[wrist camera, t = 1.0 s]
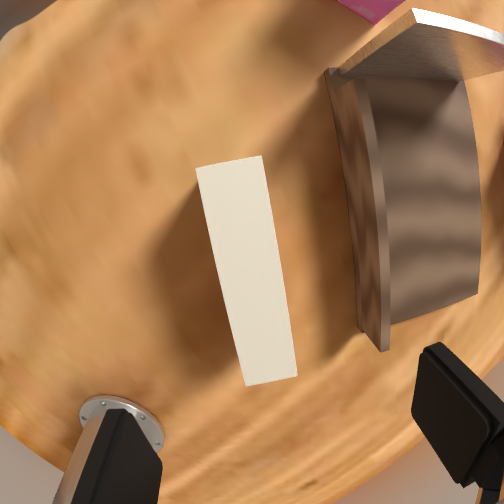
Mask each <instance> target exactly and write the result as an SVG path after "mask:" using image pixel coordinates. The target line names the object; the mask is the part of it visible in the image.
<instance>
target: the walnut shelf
mask: <svg viewBox="0 0 504 504" xmlns="http://www.w3.org/2000/svg"><path fill="white" fill-rule="evenodd" d="M324 74H325V78H326V83H327V87H328V92H329V96H330V101H331V106H332V111H333V116H334V121H335V126H336V131H337V137H338V142H339V148H340V154H341V160H342V166H343V173H344V180H345V187H346V194H347V201H348V209H349V218H350V227H351V236H352V246H353V257H354V270H355V284H356V300H357V322H358V328H359V329H360V331H361V332H362V333H364V332H365V333H366V335H367V336H368V337H369V338H370V340H371V341H372V342H373V344H374V345H375V346H376V347H377V349H378V350H379V351H380V352H384V351H387V350H389V346H390V325H391V324H394V323H398V322H401V321H404V320H407V319H410V318H413V317H416V316H419V315H422V314H425V313H428V312H431V311H433V310H436V309H439V308H442V307H445V306H447V305H450V304H453V303H455V302H458V301H461V300H463V299H466V298H468V297H471V296H473V295H476V294H478V284H479V272H480V255H481V195H480V179H479V167H478V157H477V149H476V141H475V134H474V128H473V122H472V116H471V110H470V105H469V100H468V96H467V91H466V87H465V83H464V81H460V82H456V81H447V80H438V79H426V78H411V77H386V76H352V77H340V74H339V70H338V68H328V69H327V70H326V71H325V72H324Z"/></svg>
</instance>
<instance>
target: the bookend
mask: <svg viewBox="0 0 504 504" xmlns="http://www.w3.org/2000/svg"><path fill="white" fill-rule="evenodd" d="M338 70H339V74H340V77H352V76H386V77H411V78H426V79H438V80H447V81H456V82H460V81H464V80H468V79H471V78H475V77H479V76H483V75H487V74H491V73H495V72H500V71H504V34H502V33H499V32H497V31H494V30H491V29H488V28H485V27H482V26H479V25H476V24H473V23H470V22H467V21H463V20H460V19H456V18H453V17H449V16H445V15H441V14H437V13H433V12H428V11H423V10H419V9H413V8H412V9H411V10H409V11H408V12H407V13H405V14H404V15H403V16H401V17H400V18H399V19H397V20H396V21H395V22H393V23H392V24H391V25H389V26H388V27H387V28H386V29H384V30H383V31H382V32H381V33H379V34H378V35H377V36H376V37H374V38H373V39H372V40H371V41H369V42H368V43H367V44H366V45H364V46H363V47H362V48H361V49H360V50H358V51H357V52H356V53H355V54H354V55H352V56H351V57H350V58H349V59H348V60H346V61H345V62H344V63H343V64H342V65H341V66H339V67H338Z"/></svg>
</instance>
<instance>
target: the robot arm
mask: <svg viewBox="0 0 504 504" xmlns="http://www.w3.org/2000/svg"><path fill="white" fill-rule="evenodd" d="M411 413H412V417H413V419H414V420H415V422H416V423H417V425H418V426H419V428H420V429H421V431H422V432H423V434H424V435H425V437H426V438H427V440H428V441H429V443H430V444H431V446H432V447H433V449H434V450H435V452H436V454H437V455H438V457H439V458H440V460H441V461H442V463H443V464H444V466H445V468H446V469H447V471H448V472H449V474H450V476H451V477H452V479H453V480H454V482H455V483H457V484H459V483H460V484H461V485H462V487H463V488H465V487H466V486H468V485H470V484H471V483H473V482H476V483H477V485H478V486H479V490H478V495H477V499H476V503H475V504H504V402H503V401H501V399H500V398H499V397H498V396H497V395H496V394H495V393H494V392H493V391H492V390H491V389H490V388H489V387H488V386H487V385H486V384H485V383H484V382H483V381H482V380H481V379H480V378H479V377H478V376H477V375H476V374H475V373H474V372H472V371H471V370H470V369H469V368H468V367H467V366H466V365H465V364H464V363H463V362H462V361H461V360H460V359H459V358H458V357H457V356H456V355H455V354H454V353H453V352H452V351H450V350H449V349H448V348H447V347H446V346H445V345H444V344H443V343H441V342H437V343H435V344H432V345H430V346H427V347H425V348H424V349H423V353H421V354H420V356H419V363H418V371H417V378H416V384H415V390H414V396H413V402H412V407H411ZM79 418H80V422H81V425H82V427H83V432H82V434H81V436H80V438H79V440H78V443H77V445H76V447H75V449H74V452H73V454H72V456H71V459H70V461H69V463H68V466H67V468H66V470H65V473H64V476H63V478H62V480H61V483H60V486H59V488H58V490H57V493H56V495H55V497H54V500H53V503H52V504H157V502H158V495H159V488H160V482H161V476H162V469H163V467H162V462H161V460H160V458H159V457H158V455H157V454H156V453H157V452H158V451H160V450H161V448H162V446H163V443H164V431H163V428H162V426H161V424H160V423H159V422H158V420H157V419H156V418H155V417H154V416H153V415H152V414H151V413H150V412H148V411H147V410H146V409H144V408H143V407H141V406H139V405H137V404H136V403H134V402H131V401H129V400H127V399H123V398H120V397H116V396H110V395H99V396H94V397H91V398H89V399H88V400H86V401H85V402H84V404H83V405H82V407H81V410H80V412H79Z"/></svg>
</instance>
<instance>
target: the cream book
mask: <svg viewBox="0 0 504 504" xmlns="http://www.w3.org/2000/svg"><path fill="white" fill-rule="evenodd" d="M196 173H197V178H198V183H199V188H200V193H201V198H202V203H203V208H204V212H205V217H206V222H207V226H208V231H209V236H210V240H211V245H212V249H213V254H214V258H215V263H216V267H217V271H218V276H219V280H220V284H221V289H222V293H223V297H224V301H225V305H226V310H227V314H228V318H229V322H230V326H231V330H232V334H233V338H234V342H235V346H236V350H237V354H238V358H239V362H240V365H241V369H242V373H243V377H244V381H245V385H246V386H250V385H256V384H261V383H266V382H271V381H276V380H281V379H286V378H290V377H295V376H298V375H297V368H296V361H295V354H294V347H293V340H292V333H291V327H290V320H289V314H288V307H287V301H286V294H285V288H284V282H283V276H282V269H281V263H280V257H279V251H278V245H277V239H276V233H275V228H274V222H273V216H272V210H271V205H270V199H269V193H268V188H267V182H266V177H265V171H264V166H263V160H262V155H261V156H254V157H249V158H243V159H238V160H232V161H227V162H222V163H217V164H212V165H208V166H203V167H198V168H196Z"/></svg>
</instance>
